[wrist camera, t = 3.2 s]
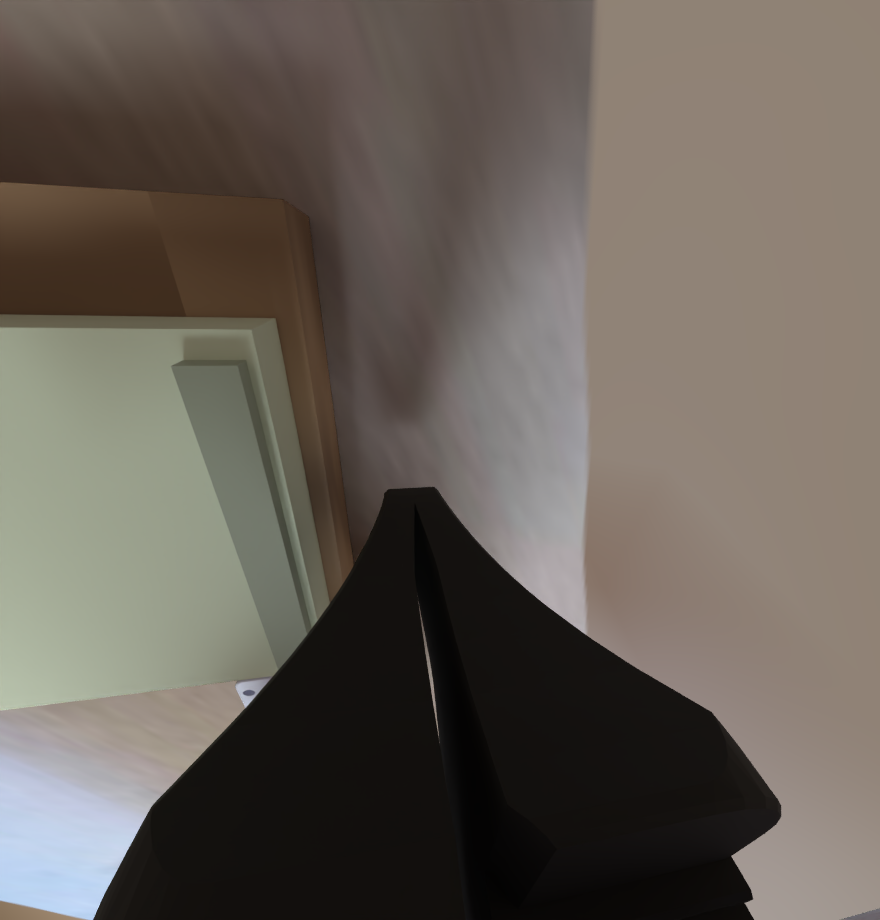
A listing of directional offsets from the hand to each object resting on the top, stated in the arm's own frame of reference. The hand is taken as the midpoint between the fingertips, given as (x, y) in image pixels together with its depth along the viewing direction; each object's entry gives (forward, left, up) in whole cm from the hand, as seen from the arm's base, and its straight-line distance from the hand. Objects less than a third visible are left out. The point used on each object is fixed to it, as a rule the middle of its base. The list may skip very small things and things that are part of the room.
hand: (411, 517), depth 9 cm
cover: (0, +7, -1) cm, 7 cm away
